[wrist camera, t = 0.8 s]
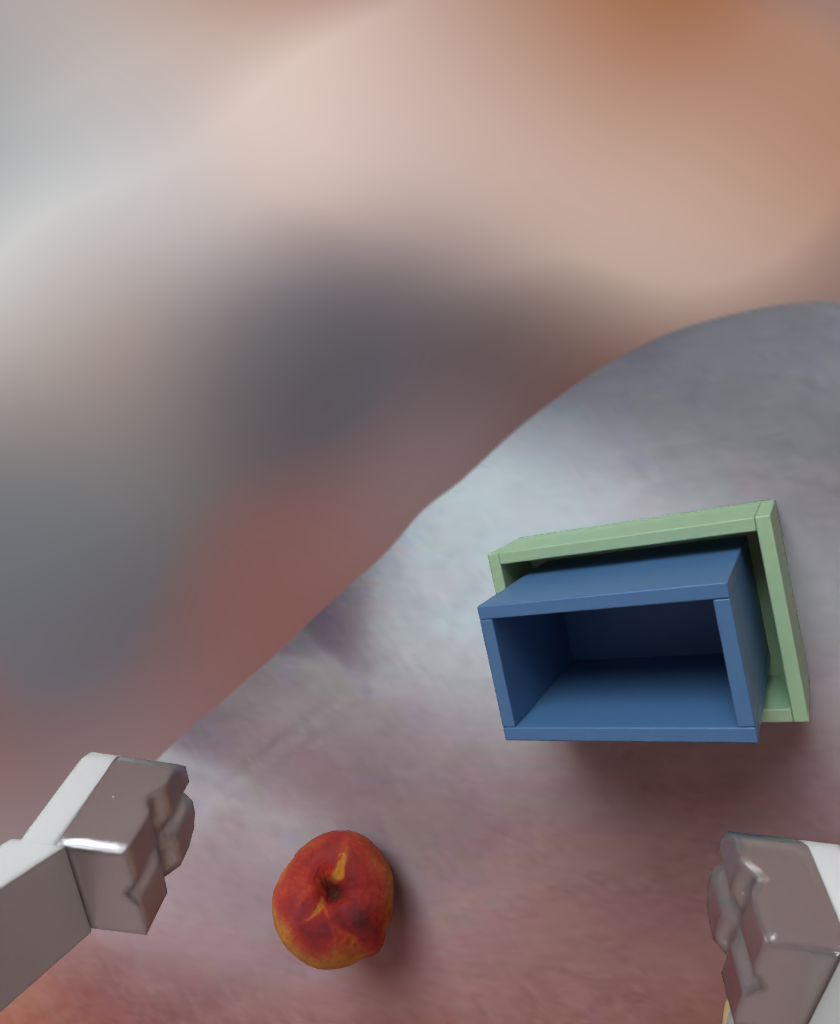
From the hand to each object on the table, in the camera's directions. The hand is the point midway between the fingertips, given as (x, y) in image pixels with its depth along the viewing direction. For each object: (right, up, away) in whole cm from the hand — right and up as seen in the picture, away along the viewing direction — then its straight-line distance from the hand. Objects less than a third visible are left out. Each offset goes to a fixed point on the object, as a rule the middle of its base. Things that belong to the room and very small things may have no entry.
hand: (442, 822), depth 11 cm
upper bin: (+11, 0, +25) cm, 27 cm away
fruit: (-4, -20, +37) cm, 42 cm away
